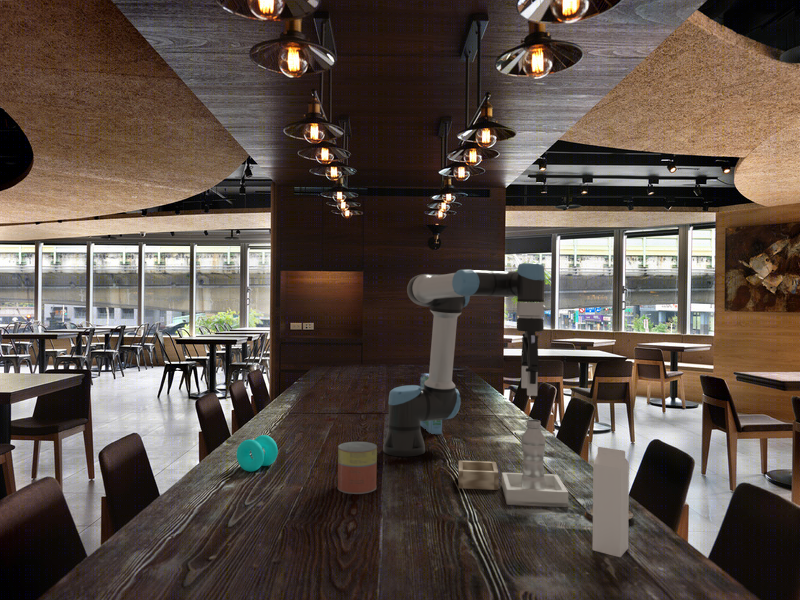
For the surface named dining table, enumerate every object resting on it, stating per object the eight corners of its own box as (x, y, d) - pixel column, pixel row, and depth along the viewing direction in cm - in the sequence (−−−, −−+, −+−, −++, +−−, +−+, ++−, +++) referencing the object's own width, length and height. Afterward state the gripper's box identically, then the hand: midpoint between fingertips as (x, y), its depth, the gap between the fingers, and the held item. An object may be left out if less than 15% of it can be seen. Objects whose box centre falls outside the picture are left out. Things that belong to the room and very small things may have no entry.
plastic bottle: (546, 497, 157) (547, 423, 157) (520, 495, 158) (521, 422, 158) (545, 489, 163) (545, 419, 163) (520, 487, 165) (521, 418, 165)
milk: (601, 541, 130) (601, 443, 130) (628, 548, 126) (629, 447, 127) (592, 550, 125) (592, 448, 125) (620, 558, 121) (621, 453, 122)
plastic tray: (506, 504, 153) (507, 489, 153) (501, 486, 169) (502, 472, 169) (568, 507, 152) (568, 492, 152) (557, 488, 168) (557, 474, 168)
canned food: (382, 484, 170) (382, 443, 170) (367, 496, 159) (368, 452, 159) (347, 480, 173) (347, 440, 174) (330, 491, 163) (331, 448, 163)
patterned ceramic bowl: (610, 530, 137) (610, 499, 137) (574, 514, 148) (574, 485, 148) (645, 522, 143) (645, 492, 143) (608, 507, 153) (608, 479, 153)
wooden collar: (458, 488, 167) (458, 470, 167) (458, 476, 178) (458, 460, 178) (498, 489, 166) (498, 472, 166) (495, 478, 177) (495, 461, 177)
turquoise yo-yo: (279, 466, 187) (279, 435, 187) (259, 474, 178) (260, 442, 178) (254, 462, 191) (255, 432, 191) (234, 470, 182) (234, 438, 182)
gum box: (419, 425, 255) (419, 373, 255) (430, 424, 256) (430, 373, 257) (431, 434, 236) (431, 379, 236) (442, 434, 237) (443, 378, 238)
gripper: (550, 318, 151) (549, 399, 151) (537, 316, 176) (536, 385, 176) (521, 318, 152) (520, 398, 152) (512, 315, 177) (511, 384, 177)
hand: (528, 391), depth 164 cm, fingers open, 13 cm apart
